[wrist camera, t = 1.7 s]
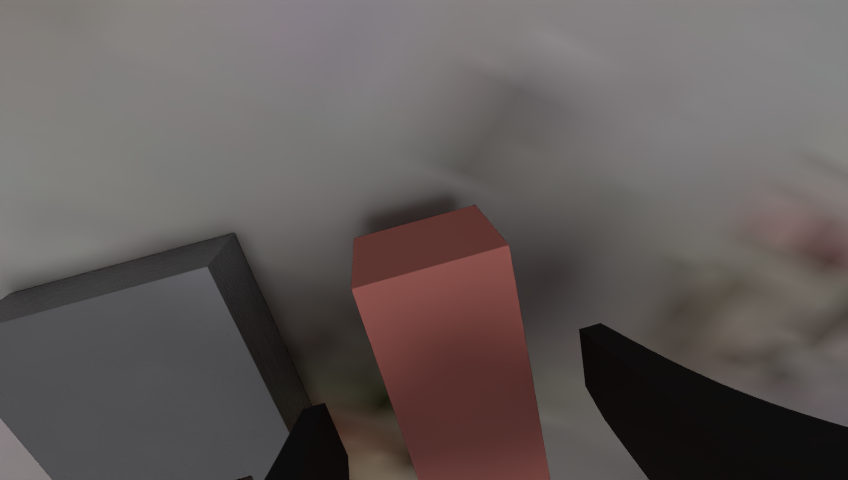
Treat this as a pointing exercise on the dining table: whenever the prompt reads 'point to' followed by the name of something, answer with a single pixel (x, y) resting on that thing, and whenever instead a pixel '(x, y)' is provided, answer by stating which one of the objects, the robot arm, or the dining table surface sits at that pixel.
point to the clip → (451, 346)
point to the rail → (149, 370)
